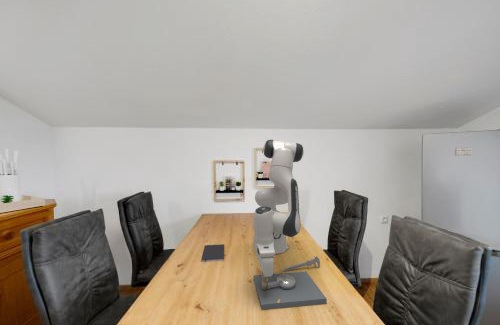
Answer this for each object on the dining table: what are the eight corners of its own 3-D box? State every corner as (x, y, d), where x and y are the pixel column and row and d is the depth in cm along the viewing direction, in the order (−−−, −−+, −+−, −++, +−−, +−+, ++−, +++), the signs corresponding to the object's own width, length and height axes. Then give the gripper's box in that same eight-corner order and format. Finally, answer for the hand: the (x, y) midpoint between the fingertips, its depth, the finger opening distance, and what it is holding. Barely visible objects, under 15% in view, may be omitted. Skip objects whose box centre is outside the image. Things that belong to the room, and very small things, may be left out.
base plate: (253, 279, 103) (253, 274, 103) (306, 275, 107) (306, 271, 107) (261, 310, 82) (261, 304, 82) (326, 303, 86) (326, 298, 86)
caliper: (319, 267, 115) (319, 255, 115) (320, 268, 114) (320, 256, 114) (282, 270, 112) (282, 258, 112) (282, 272, 111) (282, 259, 111)
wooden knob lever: (289, 277, 101) (289, 262, 101) (298, 287, 93) (298, 270, 93) (258, 283, 96) (258, 268, 96) (265, 294, 88) (265, 277, 88)
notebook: (224, 261, 123) (224, 246, 144) (224, 258, 123) (224, 244, 144) (201, 262, 122) (204, 247, 143) (201, 260, 122) (204, 245, 143)
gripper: (253, 236, 106) (253, 265, 106) (260, 255, 85) (260, 290, 85) (266, 236, 106) (266, 264, 106) (276, 254, 86) (276, 288, 86)
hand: (264, 276), depth 96 cm, fingers closed
